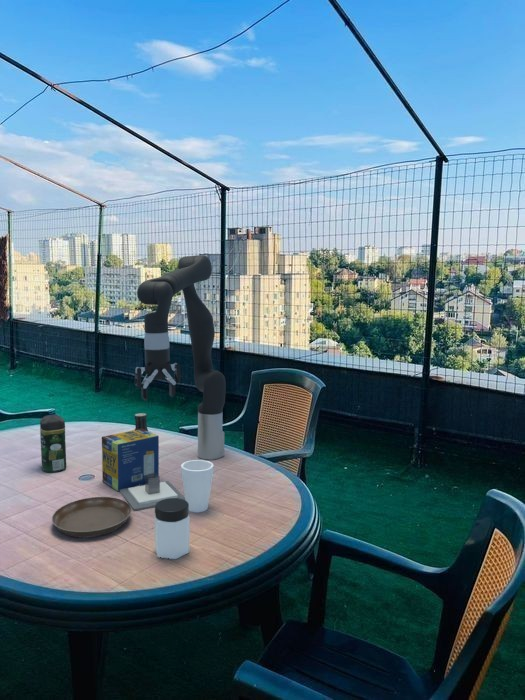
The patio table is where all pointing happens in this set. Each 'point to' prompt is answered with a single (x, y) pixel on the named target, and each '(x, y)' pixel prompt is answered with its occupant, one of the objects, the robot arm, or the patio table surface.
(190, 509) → the foam cup
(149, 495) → the lid
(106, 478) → the protein box
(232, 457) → the patio table surface
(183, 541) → the jar
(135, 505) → the mat
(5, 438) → the patio table surface
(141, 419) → the sauce bottle
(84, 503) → the plant saucer
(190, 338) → the robot arm
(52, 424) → the coffee jar
